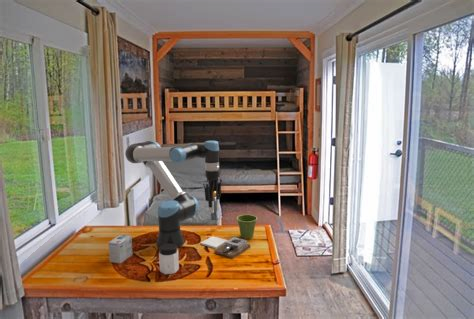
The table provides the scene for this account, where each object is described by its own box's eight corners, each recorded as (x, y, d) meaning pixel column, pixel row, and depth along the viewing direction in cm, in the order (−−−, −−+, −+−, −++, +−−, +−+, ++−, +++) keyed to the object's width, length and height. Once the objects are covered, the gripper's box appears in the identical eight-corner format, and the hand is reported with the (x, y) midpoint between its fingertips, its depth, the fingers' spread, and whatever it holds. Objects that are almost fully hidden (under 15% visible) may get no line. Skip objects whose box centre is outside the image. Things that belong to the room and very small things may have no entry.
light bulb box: (122, 253, 200) (120, 233, 198) (133, 255, 198) (131, 235, 196) (109, 262, 190) (107, 241, 188) (120, 263, 188) (119, 243, 186)
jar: (160, 275, 175) (158, 251, 173) (159, 267, 183) (158, 244, 181) (179, 273, 177) (178, 249, 175) (178, 265, 185) (177, 242, 183)
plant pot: (234, 239, 215) (234, 220, 213) (239, 231, 227) (239, 214, 225) (255, 241, 213) (255, 222, 211) (258, 233, 224) (258, 215, 222)
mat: (200, 244, 210) (200, 242, 209) (212, 237, 218) (212, 236, 218) (216, 248, 203) (215, 247, 203) (228, 241, 212) (228, 240, 212)
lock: (214, 252, 198) (214, 245, 198) (232, 242, 211) (232, 235, 210) (233, 258, 192) (232, 251, 191) (250, 247, 204) (250, 240, 204)
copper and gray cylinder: (213, 220, 206) (213, 192, 203) (210, 219, 208) (209, 191, 205) (217, 219, 208) (217, 191, 205) (214, 218, 210) (213, 190, 207)
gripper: (208, 173, 194) (209, 217, 199) (226, 167, 207) (227, 208, 212) (197, 171, 199) (198, 214, 203) (216, 166, 212) (217, 206, 216)
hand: (213, 211), depth 207 cm, fingers closed on copper and gray cylinder, 3 cm apart
